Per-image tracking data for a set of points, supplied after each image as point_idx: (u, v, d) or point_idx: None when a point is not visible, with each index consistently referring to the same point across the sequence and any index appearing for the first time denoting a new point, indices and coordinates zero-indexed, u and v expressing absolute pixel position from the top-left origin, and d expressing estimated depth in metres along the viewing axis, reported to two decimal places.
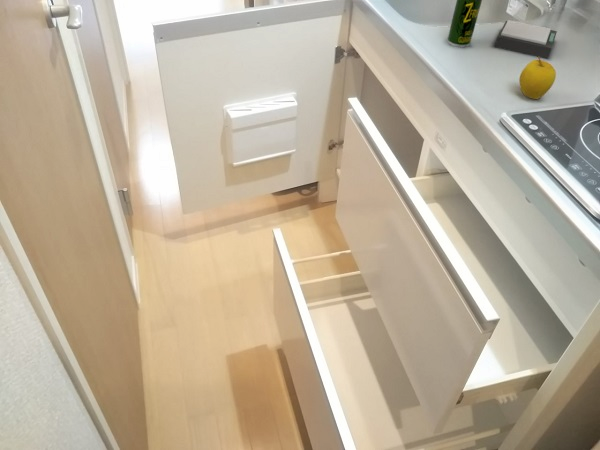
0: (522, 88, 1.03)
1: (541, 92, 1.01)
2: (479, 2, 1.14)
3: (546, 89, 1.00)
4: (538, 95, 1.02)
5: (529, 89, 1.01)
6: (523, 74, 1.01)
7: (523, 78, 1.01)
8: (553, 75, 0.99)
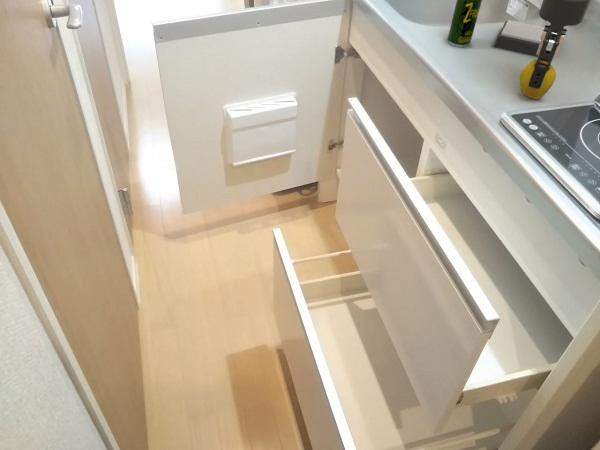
0: (522, 88, 1.03)
1: (541, 92, 1.01)
2: (479, 2, 1.14)
3: (546, 89, 1.00)
4: (538, 95, 1.02)
5: (529, 89, 1.01)
6: (523, 74, 1.01)
7: (523, 78, 1.01)
8: (553, 75, 0.99)
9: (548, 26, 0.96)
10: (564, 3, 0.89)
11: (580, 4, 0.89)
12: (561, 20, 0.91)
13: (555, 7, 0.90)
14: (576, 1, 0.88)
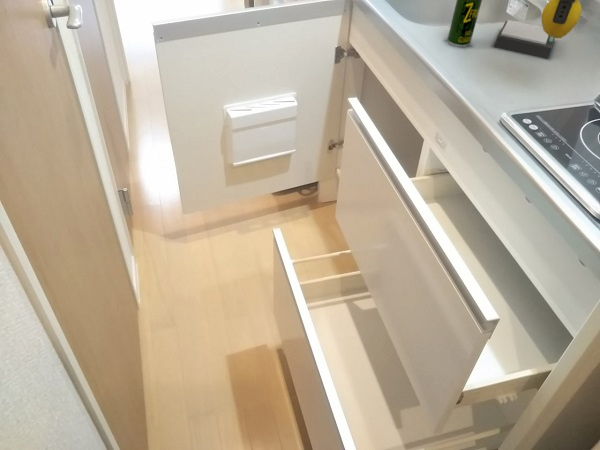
0: (545, 26, 0.95)
1: (566, 29, 0.94)
2: (479, 2, 1.14)
3: (571, 25, 0.93)
4: (563, 33, 0.94)
5: (553, 26, 0.94)
6: (545, 10, 0.94)
7: (546, 15, 0.94)
8: (579, 9, 0.92)
9: None
10: None
11: None
12: None
13: None
14: None
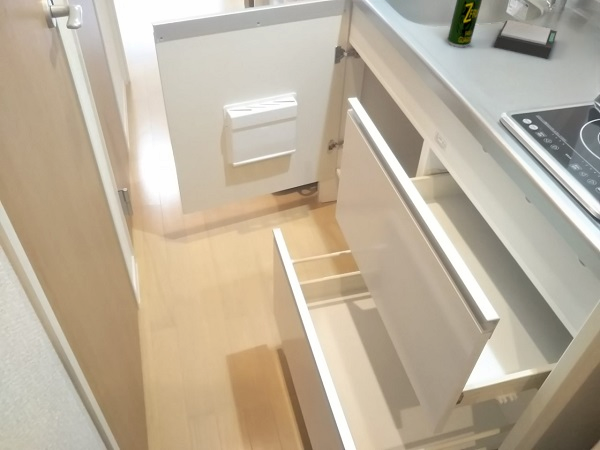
0: None
1: None
2: (479, 2, 1.14)
3: None
4: None
5: None
6: None
7: None
8: None
9: None
10: None
11: None
12: None
13: None
14: None
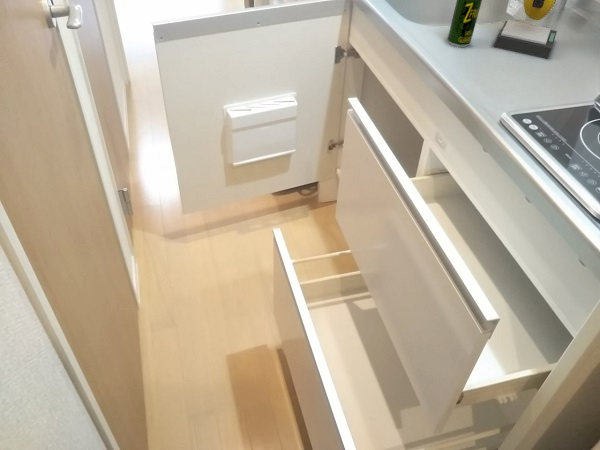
0: (526, 10, 1.17)
1: (543, 12, 1.16)
2: (479, 2, 1.14)
3: (547, 9, 1.15)
4: (540, 15, 1.16)
5: (533, 10, 1.16)
6: None
7: (527, 0, 1.16)
8: None
9: None
10: None
11: None
12: None
13: None
14: None
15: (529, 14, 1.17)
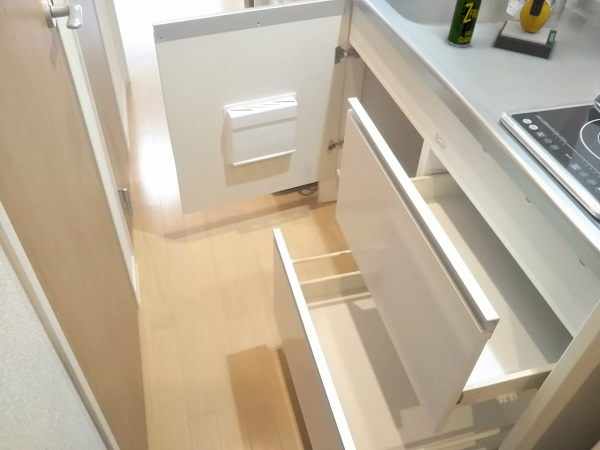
0: (522, 23, 1.19)
1: (539, 25, 1.18)
2: (479, 2, 1.14)
3: (542, 22, 1.17)
4: (536, 28, 1.18)
5: (528, 23, 1.18)
6: (522, 10, 1.18)
7: (522, 14, 1.18)
8: (548, 9, 1.16)
9: None
10: None
11: None
12: None
13: None
14: None
15: (525, 27, 1.19)
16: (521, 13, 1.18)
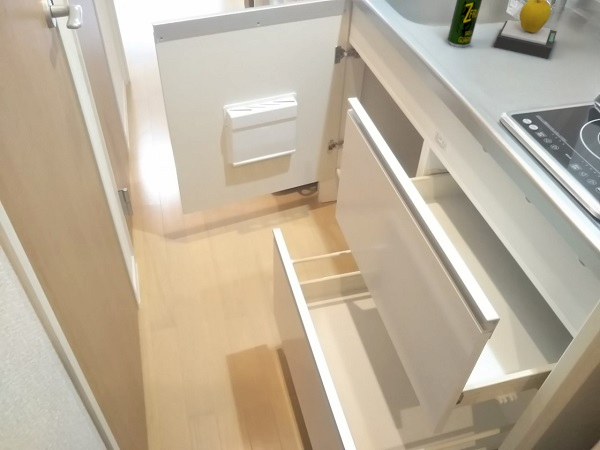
0: (522, 23, 1.19)
1: (539, 25, 1.18)
2: (479, 2, 1.14)
3: (542, 22, 1.17)
4: (536, 28, 1.18)
5: (528, 23, 1.18)
6: (522, 10, 1.18)
7: (522, 14, 1.18)
8: (548, 9, 1.16)
9: None
10: None
11: None
12: None
13: None
14: None
15: (525, 27, 1.19)
16: (521, 13, 1.18)
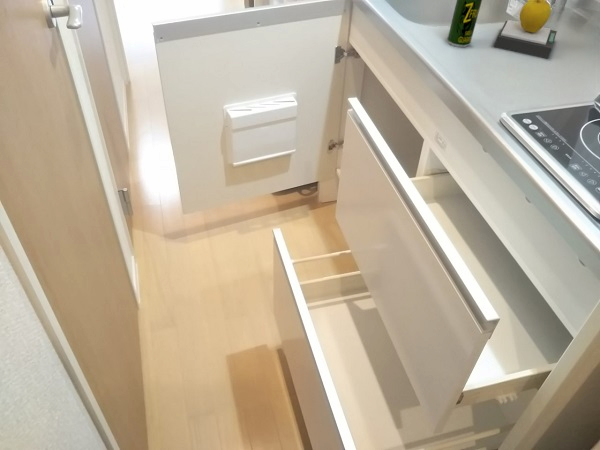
0: (522, 23, 1.19)
1: (539, 25, 1.18)
2: (479, 2, 1.14)
3: (542, 22, 1.17)
4: (536, 28, 1.18)
5: (528, 23, 1.18)
6: (522, 10, 1.18)
7: (522, 14, 1.18)
8: (548, 9, 1.16)
9: None
10: None
11: None
12: None
13: None
14: None
15: (525, 27, 1.19)
16: (521, 13, 1.18)
